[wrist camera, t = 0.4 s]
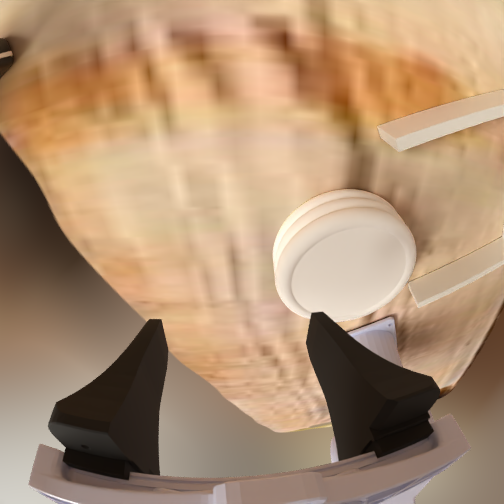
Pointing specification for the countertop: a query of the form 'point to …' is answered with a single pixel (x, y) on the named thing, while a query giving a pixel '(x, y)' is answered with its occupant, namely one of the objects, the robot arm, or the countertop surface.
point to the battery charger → (5, 56)
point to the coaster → (342, 255)
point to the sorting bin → (429, 128)
